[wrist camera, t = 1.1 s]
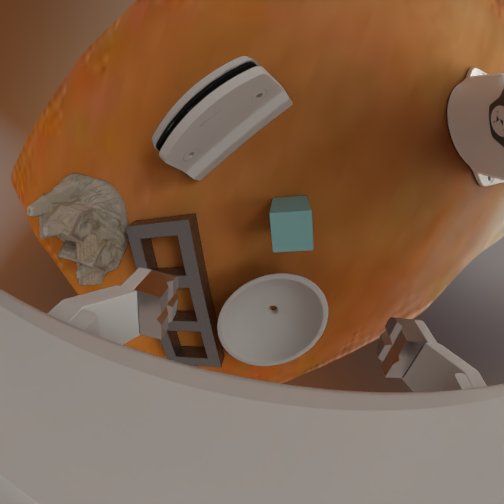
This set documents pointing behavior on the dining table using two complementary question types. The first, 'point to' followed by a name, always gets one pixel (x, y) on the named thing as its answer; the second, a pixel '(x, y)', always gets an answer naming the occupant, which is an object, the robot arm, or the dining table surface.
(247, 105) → the white arch segment
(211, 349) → the grey slotted board
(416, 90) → the dining table surface
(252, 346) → the dish
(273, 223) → the square peg
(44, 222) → the ceramic cottage
